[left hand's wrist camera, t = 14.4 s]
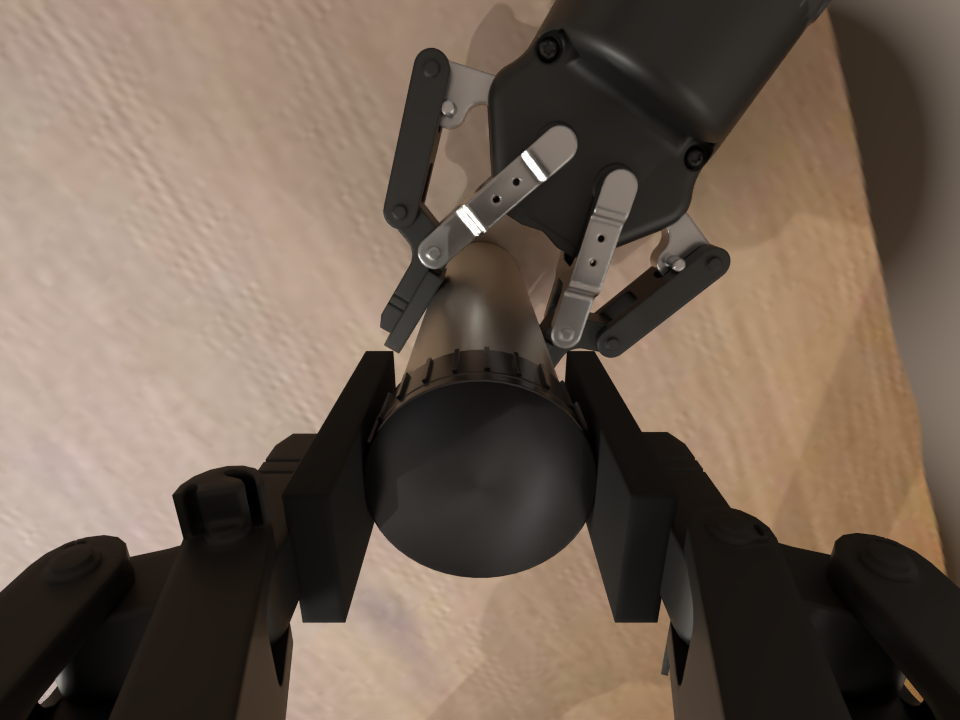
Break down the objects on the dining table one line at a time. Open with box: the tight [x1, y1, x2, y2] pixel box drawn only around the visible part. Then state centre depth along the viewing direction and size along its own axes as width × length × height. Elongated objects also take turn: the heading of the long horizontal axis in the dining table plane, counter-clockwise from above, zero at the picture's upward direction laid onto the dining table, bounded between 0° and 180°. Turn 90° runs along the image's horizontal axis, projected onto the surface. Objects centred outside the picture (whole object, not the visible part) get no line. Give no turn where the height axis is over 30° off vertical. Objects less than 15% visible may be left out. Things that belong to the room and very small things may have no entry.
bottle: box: [404, 242, 559, 381], centre depth 19 cm, size 4×4×18 cm
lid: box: [363, 347, 597, 578], centre depth 11 cm, size 5×5×2 cm
